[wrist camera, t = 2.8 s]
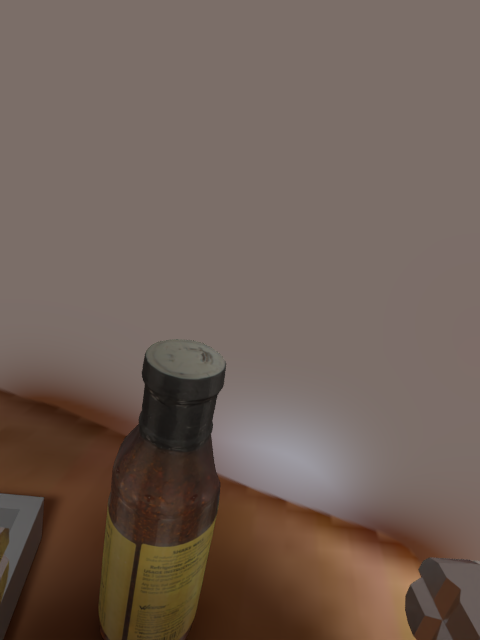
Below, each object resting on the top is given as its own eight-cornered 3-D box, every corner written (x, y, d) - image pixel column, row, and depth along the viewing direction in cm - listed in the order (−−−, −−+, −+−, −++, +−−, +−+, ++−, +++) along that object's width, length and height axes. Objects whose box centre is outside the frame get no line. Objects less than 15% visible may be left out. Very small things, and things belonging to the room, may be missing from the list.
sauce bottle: (205, 599, 31) (275, 356, 23) (163, 694, 25) (237, 414, 18) (125, 559, 32) (167, 317, 25) (69, 639, 27) (101, 359, 19)
